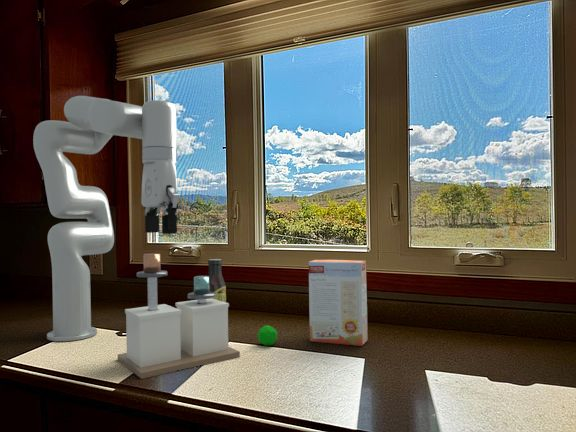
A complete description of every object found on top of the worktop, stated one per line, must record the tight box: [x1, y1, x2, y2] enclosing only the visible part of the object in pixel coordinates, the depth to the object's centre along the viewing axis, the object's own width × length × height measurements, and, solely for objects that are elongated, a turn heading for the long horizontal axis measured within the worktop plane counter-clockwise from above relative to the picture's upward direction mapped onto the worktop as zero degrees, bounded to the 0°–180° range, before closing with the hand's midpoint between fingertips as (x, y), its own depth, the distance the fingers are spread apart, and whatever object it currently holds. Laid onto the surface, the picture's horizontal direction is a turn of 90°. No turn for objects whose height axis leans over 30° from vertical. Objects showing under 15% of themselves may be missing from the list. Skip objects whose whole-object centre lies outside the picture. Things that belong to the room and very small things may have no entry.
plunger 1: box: [136, 253, 169, 311], centre depth 103 cm, size 7×7×14 cm
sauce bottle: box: [207, 258, 227, 303], centre depth 136 cm, size 7×6×20 cm
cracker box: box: [308, 259, 369, 347], centre depth 119 cm, size 14×6×21 cm, turn 67°
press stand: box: [117, 298, 241, 380], centre depth 106 cm, size 16×23×12 cm
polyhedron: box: [257, 324, 278, 347], centre depth 116 cm, size 5×5×5 cm
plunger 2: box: [187, 275, 216, 304], centre depth 110 cm, size 7×7×14 cm
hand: (160, 232), depth 104 cm, fingers open, 9 cm apart
